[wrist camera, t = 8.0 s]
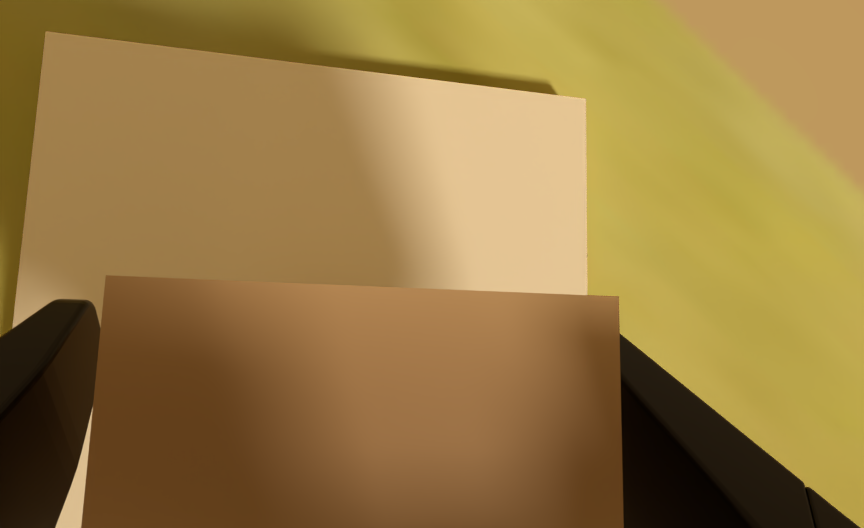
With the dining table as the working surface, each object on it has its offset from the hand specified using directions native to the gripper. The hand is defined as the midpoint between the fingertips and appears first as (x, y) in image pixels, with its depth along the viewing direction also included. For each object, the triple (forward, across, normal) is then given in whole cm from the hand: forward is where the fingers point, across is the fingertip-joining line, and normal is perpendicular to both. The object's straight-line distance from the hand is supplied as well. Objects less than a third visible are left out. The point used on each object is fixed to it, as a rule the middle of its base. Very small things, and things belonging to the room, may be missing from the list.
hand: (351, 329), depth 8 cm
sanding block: (+3, 0, +6) cm, 6 cm away
